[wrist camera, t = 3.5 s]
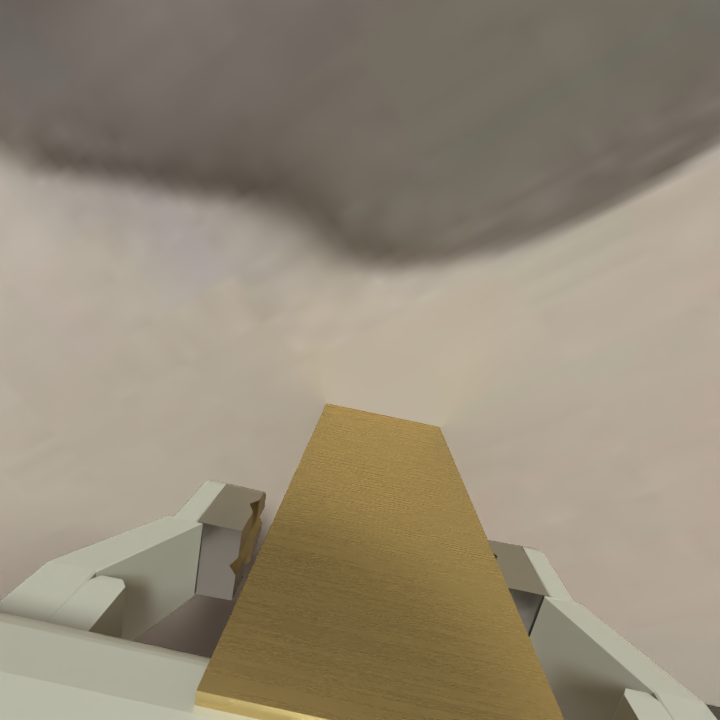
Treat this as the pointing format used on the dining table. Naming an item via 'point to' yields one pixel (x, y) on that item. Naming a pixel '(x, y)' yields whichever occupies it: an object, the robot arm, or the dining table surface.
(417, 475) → the brass peg
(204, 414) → the dining table surface
